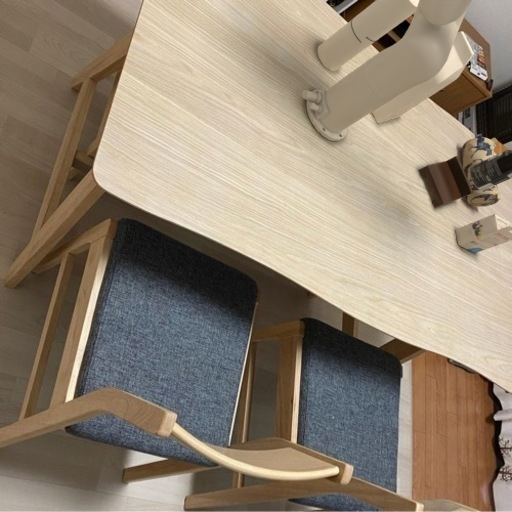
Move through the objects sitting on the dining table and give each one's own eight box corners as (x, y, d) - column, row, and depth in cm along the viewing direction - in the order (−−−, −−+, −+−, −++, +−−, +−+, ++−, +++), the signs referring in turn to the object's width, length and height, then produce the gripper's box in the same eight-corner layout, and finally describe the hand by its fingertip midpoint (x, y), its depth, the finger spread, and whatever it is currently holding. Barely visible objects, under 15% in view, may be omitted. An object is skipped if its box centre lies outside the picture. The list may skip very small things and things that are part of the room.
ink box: (472, 237, 159) (523, 218, 149) (475, 253, 157) (526, 235, 147) (454, 228, 154) (506, 208, 144) (457, 245, 152) (509, 226, 142)
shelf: (434, 208, 151) (454, 199, 146) (418, 170, 151) (437, 160, 147) (454, 201, 159) (473, 192, 155) (438, 164, 160) (457, 155, 156)
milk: (398, 117, 154) (487, 64, 135) (377, 123, 145) (469, 68, 127) (379, 76, 154) (465, 18, 135) (357, 81, 145) (446, 19, 127)
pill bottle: (484, 195, 127) (534, 175, 119) (469, 182, 124) (519, 160, 116) (483, 175, 130) (532, 153, 122) (468, 161, 127) (517, 138, 119)
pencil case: (455, 142, 171) (485, 127, 164) (471, 155, 176) (501, 141, 169) (461, 204, 161) (493, 190, 154) (478, 215, 166) (510, 203, 159)
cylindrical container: (338, 75, 140) (424, 14, 123) (317, 62, 136) (403, -4, 119) (337, 53, 143) (420, -11, 126) (316, 39, 139) (400, -28, 122)
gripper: (598, 107, 116) (513, 146, 128) (572, 109, 103) (481, 152, 116) (613, 141, 115) (526, 177, 128) (589, 146, 103) (496, 186, 116)
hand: (506, 165), depth 122 cm, fingers closed on pill bottle, 6 cm apart
